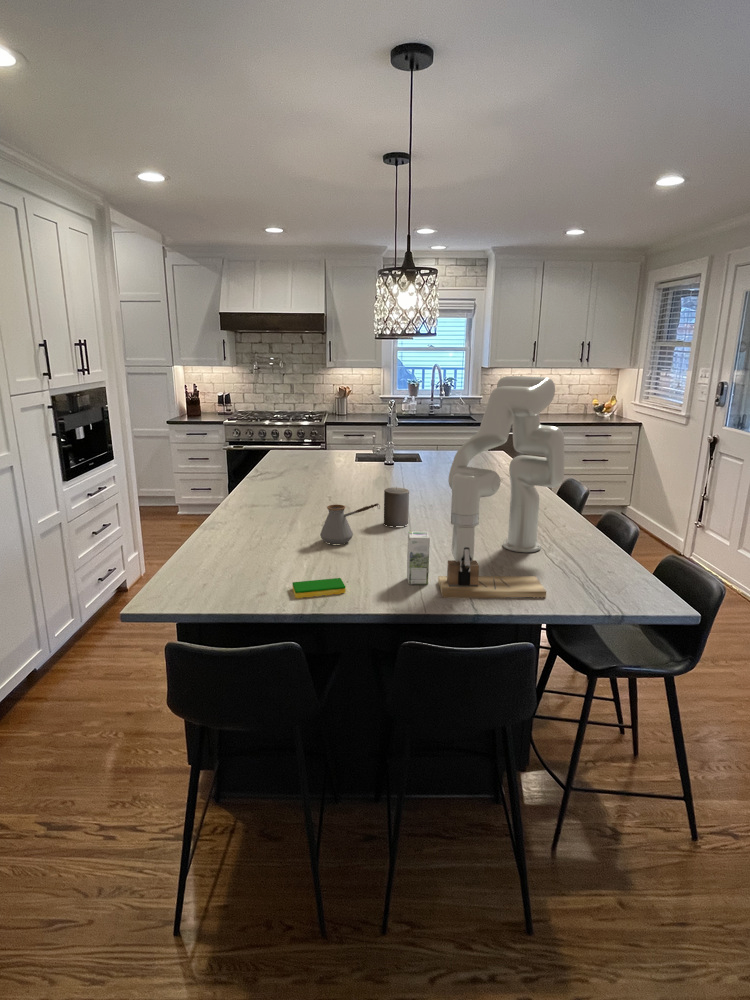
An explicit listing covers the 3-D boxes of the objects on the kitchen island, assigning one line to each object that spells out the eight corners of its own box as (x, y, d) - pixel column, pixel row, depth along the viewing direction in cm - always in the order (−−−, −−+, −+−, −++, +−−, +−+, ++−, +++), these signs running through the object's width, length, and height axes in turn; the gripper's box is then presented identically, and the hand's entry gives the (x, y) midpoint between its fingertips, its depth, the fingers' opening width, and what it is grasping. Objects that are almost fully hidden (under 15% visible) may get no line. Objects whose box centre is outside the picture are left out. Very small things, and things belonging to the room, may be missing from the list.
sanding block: (447, 580, 163) (447, 560, 162) (475, 580, 163) (476, 560, 162) (449, 586, 159) (449, 566, 157) (477, 586, 159) (478, 566, 157)
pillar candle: (379, 525, 222) (379, 487, 218) (390, 519, 230) (391, 482, 226) (402, 529, 217) (403, 491, 213) (412, 523, 226) (413, 485, 222)
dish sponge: (292, 589, 162) (292, 581, 162) (340, 585, 166) (340, 577, 165) (295, 599, 155) (295, 591, 155) (345, 594, 159) (345, 586, 158)
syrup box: (426, 577, 170) (427, 530, 167) (428, 585, 164) (429, 536, 161) (406, 577, 170) (407, 530, 166) (408, 585, 164) (409, 537, 161)
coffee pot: (315, 545, 198) (314, 503, 195) (326, 536, 209) (325, 495, 205) (375, 550, 193) (375, 507, 190) (383, 540, 204) (383, 499, 200)
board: (438, 582, 167) (438, 575, 166) (534, 582, 167) (535, 576, 166) (442, 597, 156) (442, 591, 156) (545, 597, 156) (546, 591, 156)
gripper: (447, 510, 165) (445, 569, 169) (455, 527, 148) (452, 593, 153) (473, 510, 165) (470, 569, 169) (484, 527, 148) (481, 593, 153)
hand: (462, 580), depth 161 cm, fingers open, 5 cm apart
